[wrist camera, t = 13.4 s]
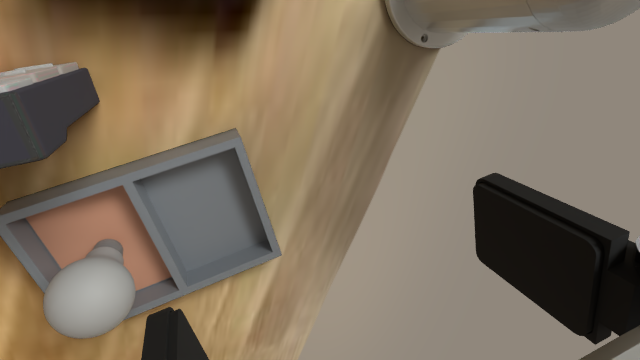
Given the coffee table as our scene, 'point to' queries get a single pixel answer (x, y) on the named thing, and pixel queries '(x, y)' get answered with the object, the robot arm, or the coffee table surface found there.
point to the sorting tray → (151, 220)
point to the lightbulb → (91, 293)
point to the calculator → (41, 109)
